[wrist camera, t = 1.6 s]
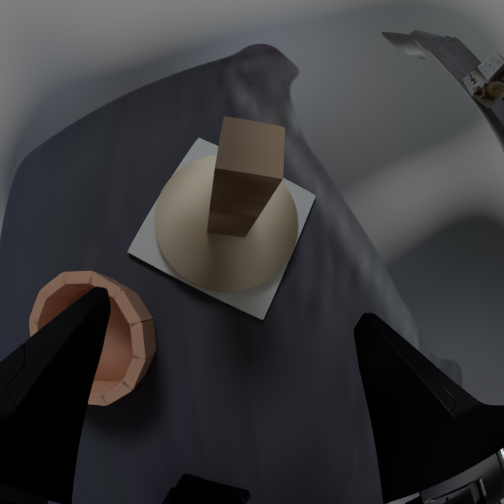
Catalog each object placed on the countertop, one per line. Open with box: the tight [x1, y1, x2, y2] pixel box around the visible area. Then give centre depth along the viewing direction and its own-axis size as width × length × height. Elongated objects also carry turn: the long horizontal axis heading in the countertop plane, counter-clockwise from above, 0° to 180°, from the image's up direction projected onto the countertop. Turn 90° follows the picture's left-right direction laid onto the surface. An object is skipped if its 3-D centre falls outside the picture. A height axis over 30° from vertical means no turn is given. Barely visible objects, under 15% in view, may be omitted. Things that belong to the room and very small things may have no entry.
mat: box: [128, 138, 316, 320], centre depth 22 cm, size 12×12×1 cm
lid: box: [155, 117, 298, 292], centre depth 17 cm, size 12×12×11 cm
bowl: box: [29, 271, 156, 406], centre depth 16 cm, size 9×9×4 cm
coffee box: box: [463, 51, 504, 109], centre depth 35 cm, size 9×6×16 cm
